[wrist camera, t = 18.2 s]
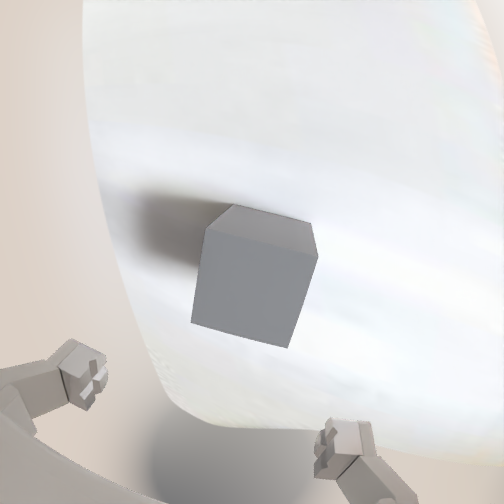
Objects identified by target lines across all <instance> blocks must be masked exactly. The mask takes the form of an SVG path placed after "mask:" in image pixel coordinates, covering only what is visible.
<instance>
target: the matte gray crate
mask: <svg viewBox="0 0 504 504" xmlns="http://www.w3.org/2000/svg"><path fill="white" fill-rule="evenodd" d="M317 259H318V253H317V248H316V244H315V239H314V235H313V231H312V226H311V223H307V222H303V221H299V220H296V219H292V218H288V217H284V216H280V215H276V214H272V213H268V212H264V211H260V210H256V209H252V208H248V207H244V206H239V205H235V204H233V205H232V206H231V207H230V208H228V209H227V210H226V211H225V212H224V213H223V214H221V215H220V216H219V217H218V218H217V219H216V220H215V221H213V222H212V223H211V224H210V225H209V226H208V227H207V228H206V229H205V235H204V241H203V247H202V253H201V259H200V265H199V271H198V277H197V283H196V290H195V297H194V303H193V310H192V317H191V323H194V324H197V325H200V326H204V327H207V328H211V329H214V330H218V331H221V332H225V333H229V334H232V335H236V336H240V337H243V338H247V339H251V340H255V341H259V342H263V343H267V344H271V345H275V346H280V347H284V348H288V345H289V343H290V340H291V337H292V334H293V331H294V329H295V326H296V323H297V320H298V317H299V314H300V311H301V308H302V306H303V303H304V300H305V297H306V294H307V291H308V287H309V284H310V281H311V278H312V275H313V272H314V269H315V266H316V263H317Z"/></svg>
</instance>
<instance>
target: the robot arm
mask: <svg viewBox="0 0 504 504" xmlns="http://www.w3.org/2000/svg"><path fill="white" fill-rule="evenodd" d="M106 362H107V361H106V355H104V354H103V353H101V352H99V351H96V350H94V349H92V348H90V347H88V346H86V345H84V344H82V343H80V342H78V341H76V340H74V339H69V340H68V341H66V342H65V343H64V344H63V345H62V346H61V347H60V348H59V349H58V350H57V351H56V352H55V353H54V354H53V355H52V356H51V357H50V358H48V360H46V361H45V360H39V361H35V362H31V363H27V364H22V365H18V366H13V367H9V368H4V369H0V504H167V503H164V502H161V501H158V500H155V499H153V498H150V497H147V496H145V495H142V494H140V493H137V492H135V491H132V490H130V489H128V488H125V487H123V486H121V485H118V484H116V483H114V482H112V481H110V480H108V479H105V478H103V477H101V476H99V475H97V474H95V473H93V472H92V471H90V470H88V469H86V468H84V467H82V466H80V465H79V464H77V463H75V462H73V461H72V460H70V459H68V458H66V457H65V456H63V455H61V454H60V453H58V452H57V451H55V450H53V449H52V448H50V447H49V446H47V445H46V444H44V443H42V442H41V441H40V440H38V439H37V438H35V437H34V435H35V434H36V433H37V430H36V427H35V425H34V423H33V421H32V419H33V418H36V417H38V416H40V415H43V414H45V413H47V412H50V411H52V410H54V409H57V408H59V407H61V406H64V405H66V404H68V403H69V402H70V403H72V404H74V405H76V406H77V407H79V408H82V409H84V410H85V411H88V409H89V408H90V407H91V405H92V404H93V403H94V401H95V394H98V393H101V392H102V391H103V389H104V388H105V385H106V383H107V380H108V370H107V369H106V367H105V366H104V364H105V363H106ZM314 454H315V455H316V457H317V458H318V459H317V460H316V462H315V463H314V478H319V479H329V480H336V482H337V484H338V486H339V487H340V489H341V490H342V492H343V494H344V495H345V497H346V498H347V500H348V501H349V503H350V504H418V499H417V495H416V494H415V492H414V491H413V490H412V489H411V488H410V487H409V486H408V485H407V484H406V483H405V482H404V481H403V480H402V479H401V478H400V477H399V476H398V475H397V474H396V472H395V471H393V469H392V468H391V467H390V466H389V465H388V464H387V463H386V462H385V461H384V460H383V459H382V457H380V456H377V454H376V448H375V442H374V437H373V432H372V427H371V423H370V422H368V421H356V420H348V419H339V418H331V417H330V418H329V419H328V420H327V421H326V423H325V429H323V430H321V431H320V432H319V434H318V436H317V438H316V442H315V446H314Z"/></svg>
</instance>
